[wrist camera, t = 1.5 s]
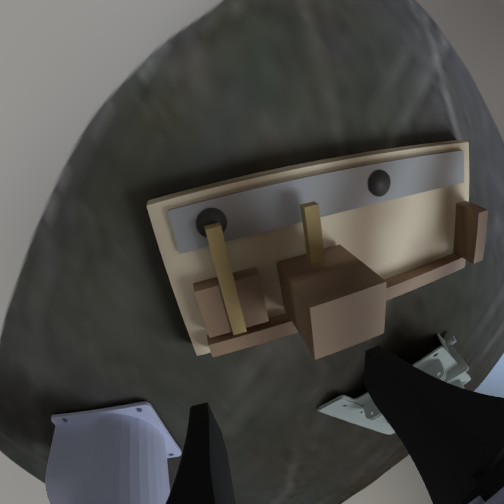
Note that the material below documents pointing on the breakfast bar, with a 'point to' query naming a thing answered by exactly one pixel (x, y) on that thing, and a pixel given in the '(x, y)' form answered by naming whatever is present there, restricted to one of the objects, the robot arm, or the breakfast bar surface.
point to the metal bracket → (440, 366)
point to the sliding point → (330, 292)
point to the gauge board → (333, 232)
